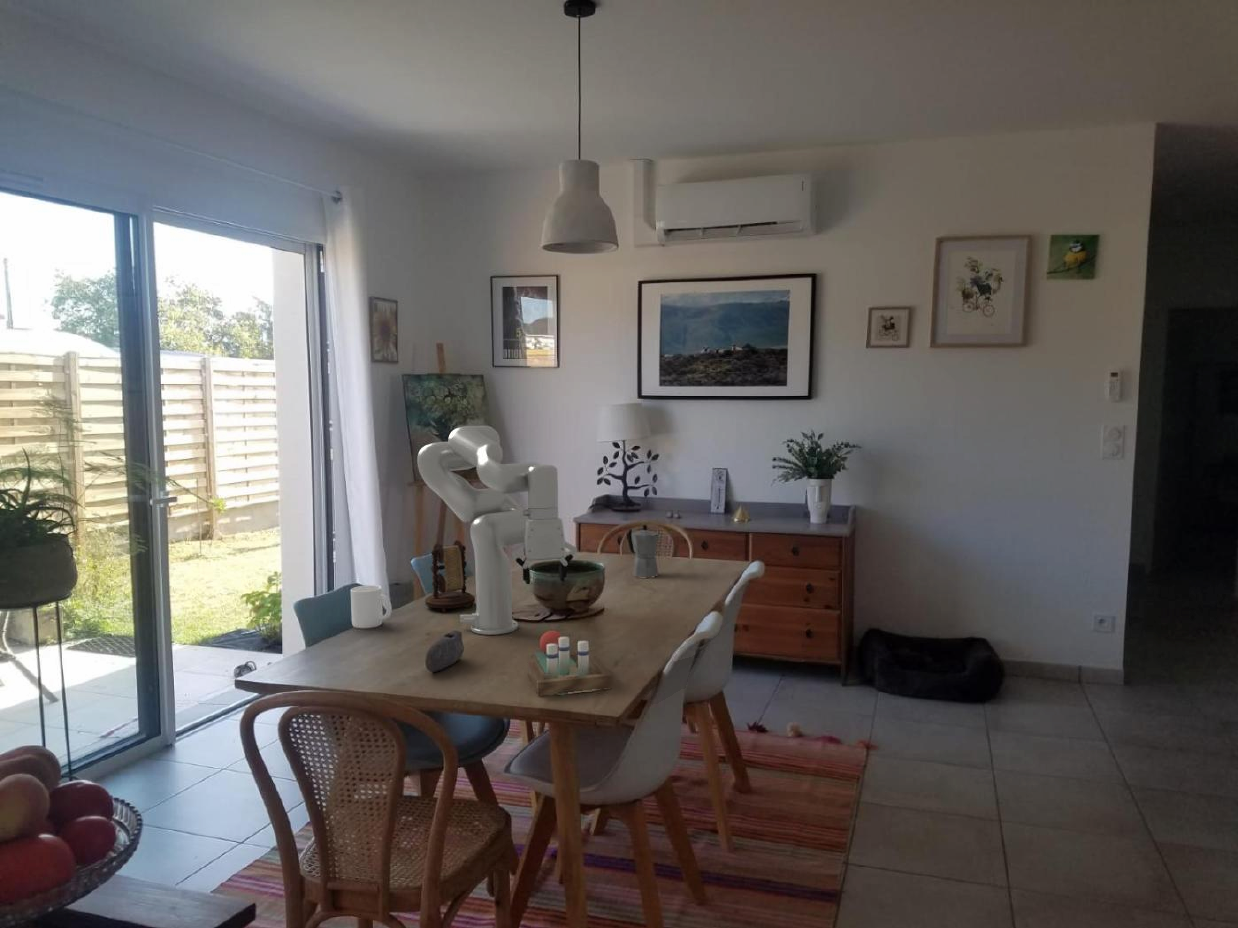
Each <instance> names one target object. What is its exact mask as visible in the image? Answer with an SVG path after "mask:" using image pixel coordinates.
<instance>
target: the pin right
mask: <svg viewBox="0 0 1238 928" xmlns="http://www.w3.org/2000/svg"><path fill="white" fill-rule="evenodd" d="M589 646H590V645H589V641H588V640H579V641H578V642H577V666H578V676H585V675H590V656H589V655H590V653H589V652H590V648H589Z"/></svg>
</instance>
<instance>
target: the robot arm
mask: <svg viewBox="0 0 1238 928" xmlns="http://www.w3.org/2000/svg"><path fill="white" fill-rule="evenodd" d="M500 440H501V438H500V435H499V433H498V431H497V430H496V429H495V428H494V427H492V426H489V425H465V426H459V427H457V428H455V429H453V430H452V431H451V432H450V433H449V436H448V439H447V441H440V442H432V443H429V444H426V445H424V446H423V447H421V449H419V452H418V454H417V458H416V459H417V460H416V461H417V467H418V468H417V469H418V471H419V474H420V476H421V478H422V479H423V482H424V483H425V484H426V485H427V486H428V488H429V489H430V490H432V491H433V492H434V493H435V494H436V495H437V496H439V498H440V499H442V500H443V502H444V503H445V505H447V507H449V508H450V510H451V511H452V512H453V513H454V514H455V515H456V517H457V518H458V519H459V520H460V521H461V522H463V523H464V524H466V525H470V530H469V531H470V534H469V535H470V539H471V542H472V547H473V549H472V550H473V554H474V569H475V571H474V572H475V604H476V605H475V607H476V609H475V612H474V613H473V612H472V613H471V614H459V615H460V616H459V618H460V619H459V621H460V623H461V622H462V623H463V624H469V623H470V624H471V623H472V624H471V625H470V630H471V631H472V632H473V633H475V634H478V635H488V636H489V635H490V636H491V635H503V634H508V633H511V632H514V631H516V630H517V629H518V627H519V626H518V622H517V621H516V620H515V619H513V616H512V615H513V614H512V612H513V611H512V607H513V604H512V572H511V569H512V566H511V560H510V559H509V556H508V555H507V553H506V551H505V550H504V548H506V547H511V546H516V545H519V546H517V547H516V548H514V549H512V550H511V551H510V555H511V556H512V557H513V559H514V560H515V562H516V563H517V564H518V565H519V566H520V567H522V580H523V581H524V582H525V584H526V585H530V584H531V577H530V576H531V575H530V573H531V572H530V571H531V569H530V568H529V566H530V564H531V562H533V561H546V560H559V562H560V564H559V565H558V569H559V570H558V572H559V573H558V574H559V575H558V576H559V580H560V581H561V582H562V583H563V582H564V583H565V578H567V566H568V564H569V563H570V562H571V561H572V560H573V558H574V556H575V555H576V553H577V552H578V547H576V546H574V545H572V544H570V543H569V542H567V541H566V540H565V538H566V537H565V531H564V523H563V520H562V518H561V517H559V486H558V485H559V484H558V483H559V478H558V476H559V475H558V468H557V467H556V465H551V464H539V463H536V462H533V461H532V462H517V463H516V462H515V463H505V464H503V463H501V462H502V460H503V456H504V454H503V453H504V452H503V448H502V447H501V445H500V444H501V441H500ZM472 468H476V473H477V476H478V478H479V480H480V482H481V483H482V484H483V485H485V486H486V487H487V488H475V487H474V486H472V485H471V484H470V483H469V482H468V481H467V479H465V478H464V477H463V476H461V475H459V474H458V473H455V472H454V471H464V470H470V469H472ZM517 493H527V509H526V510H524V509H523V508H522V507H521V506H520V505H519V504H518V503H517V502H516V501H515V500H514V498H513V497H511V496H510V495H511V494H517ZM566 549H568V550H569V552H568V554H567V555H566ZM522 551H523V555H524V558H523V560H522V558H520V556H519V553H521V552H522Z"/></svg>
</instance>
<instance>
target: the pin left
mask: <svg viewBox="0 0 1238 928" xmlns="http://www.w3.org/2000/svg"><path fill="white" fill-rule="evenodd" d="M546 678H547V679H555V678H558V645H557V644H547V676H546Z"/></svg>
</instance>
